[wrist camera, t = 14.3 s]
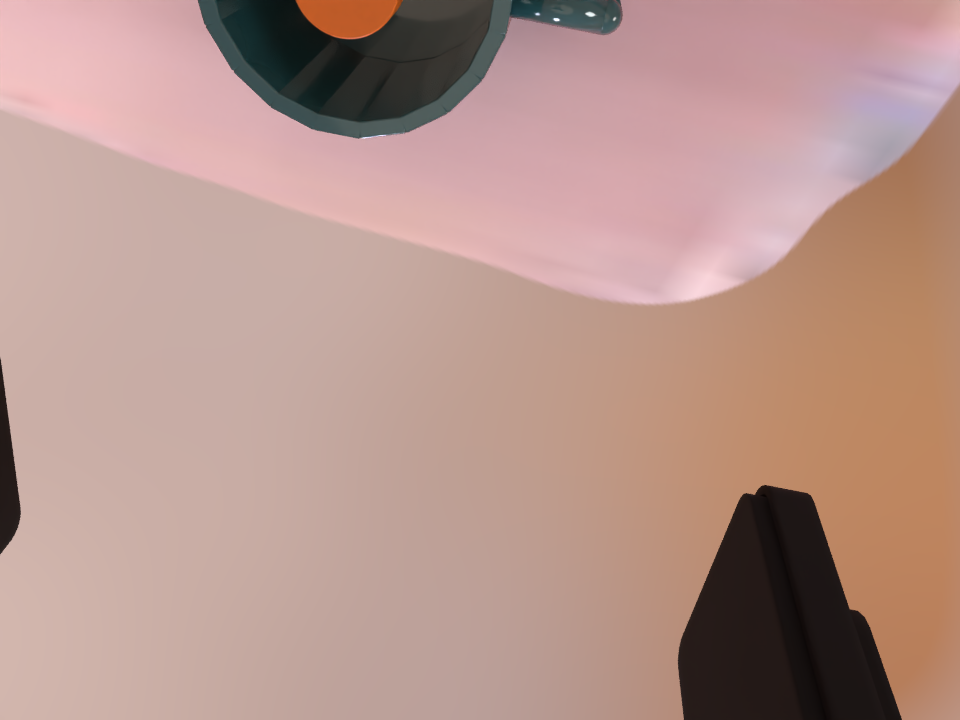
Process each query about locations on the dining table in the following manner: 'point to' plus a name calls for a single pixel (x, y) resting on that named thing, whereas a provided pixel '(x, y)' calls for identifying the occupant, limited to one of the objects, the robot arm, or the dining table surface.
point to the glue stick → (349, 16)
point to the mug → (380, 57)
